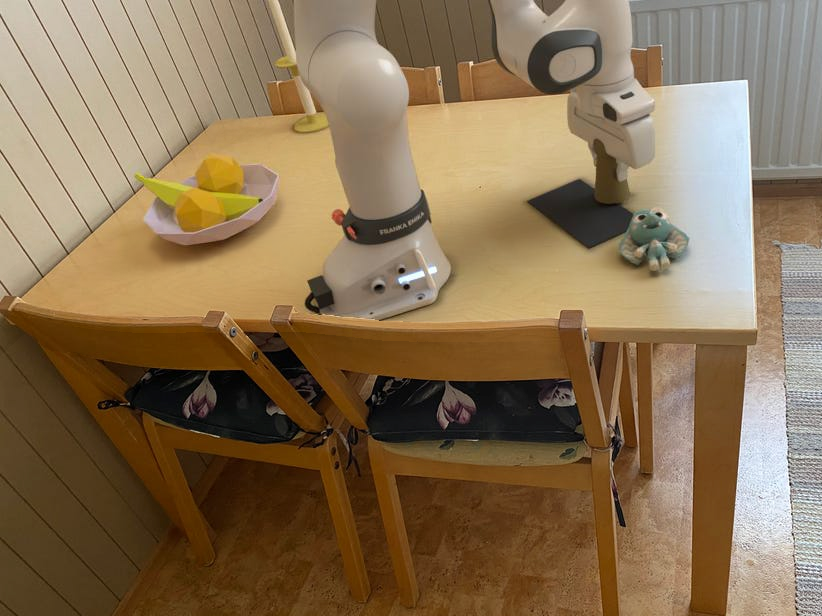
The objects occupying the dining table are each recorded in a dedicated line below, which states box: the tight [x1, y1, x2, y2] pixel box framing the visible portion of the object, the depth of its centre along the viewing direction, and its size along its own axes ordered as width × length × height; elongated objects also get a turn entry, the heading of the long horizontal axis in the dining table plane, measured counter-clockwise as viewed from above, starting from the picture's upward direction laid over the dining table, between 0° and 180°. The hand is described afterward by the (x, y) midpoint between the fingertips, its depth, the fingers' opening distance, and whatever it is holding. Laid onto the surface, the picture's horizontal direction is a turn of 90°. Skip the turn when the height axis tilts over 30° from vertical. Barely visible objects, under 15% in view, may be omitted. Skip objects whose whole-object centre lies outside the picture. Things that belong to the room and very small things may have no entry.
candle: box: [267, 0, 329, 134], centre depth 169 cm, size 10×10×32 cm
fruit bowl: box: [133, 153, 280, 246], centre depth 146 cm, size 28×27×11 cm
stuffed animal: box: [617, 206, 690, 272], centre depth 113 cm, size 11×7×12 cm
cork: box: [593, 139, 631, 204], centre depth 125 cm, size 6×6×11 cm
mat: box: [527, 178, 634, 250], centre depth 128 cm, size 11×20×1 cm, turn 27°
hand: (610, 172), depth 126 cm, fingers closed on cork, 4 cm apart
